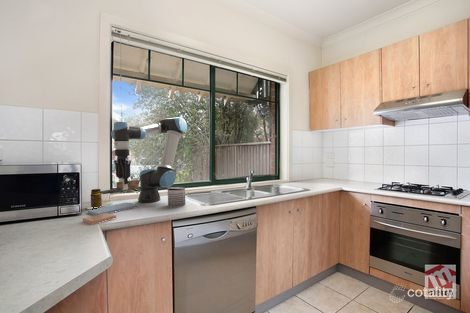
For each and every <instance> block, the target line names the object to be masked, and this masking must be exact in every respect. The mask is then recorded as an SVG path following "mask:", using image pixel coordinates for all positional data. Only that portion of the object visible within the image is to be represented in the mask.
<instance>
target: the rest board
mask: <svg viewBox="0 0 470 313" xmlns="http://www.w3.org/2000/svg"><path fill="white" fill-rule="evenodd" d="M134 207H135V208H138V204H136V203H131V202H122V203H118V204H113V205H108V206H105V207H101V208H97V209H93V210H92V209H87V214H89V213H90V214H89V215H93V214H94V215H93V216H95V215H99V214H104V213H110V214H112V213H111V212H114V213H116V212H115V211H118V212H120V211H119V210H122V211H125V210H124V209H127V210H130V209H129V208H131V209H134Z"/></svg>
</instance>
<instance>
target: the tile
mask: <svg viewBox="0 0 470 313" xmlns="http://www.w3.org/2000/svg"><path fill="white" fill-rule="evenodd" d="M112 218H116V219H117V214H113V213H110V214H109V213H104V214H99V215H91V216H86V217H83V218H82V222H83V223H86V224H89V225H93V226H94V225H98V224H100V223H99V222H101V223H103V222H102V221H105V220H109V219H112ZM109 221H110V220H109ZM105 222H106V221H105Z"/></svg>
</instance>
